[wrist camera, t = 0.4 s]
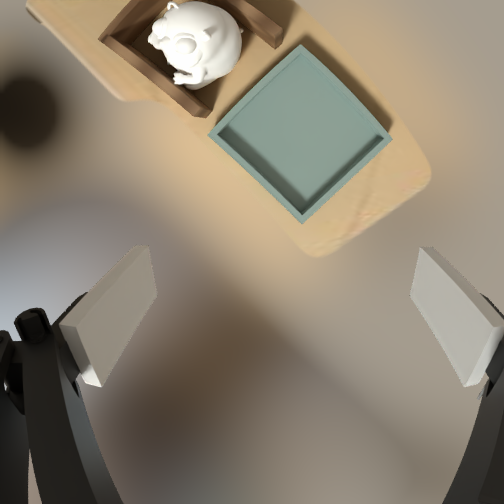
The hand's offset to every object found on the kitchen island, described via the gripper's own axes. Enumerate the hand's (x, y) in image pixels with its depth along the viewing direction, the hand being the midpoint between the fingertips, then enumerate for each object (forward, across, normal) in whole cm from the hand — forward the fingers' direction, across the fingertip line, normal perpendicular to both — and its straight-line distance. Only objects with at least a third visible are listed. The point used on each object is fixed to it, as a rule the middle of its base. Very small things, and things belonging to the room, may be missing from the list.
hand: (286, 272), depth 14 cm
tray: (+26, +3, +6) cm, 26 cm away
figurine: (+26, -8, +17) cm, 32 cm away
